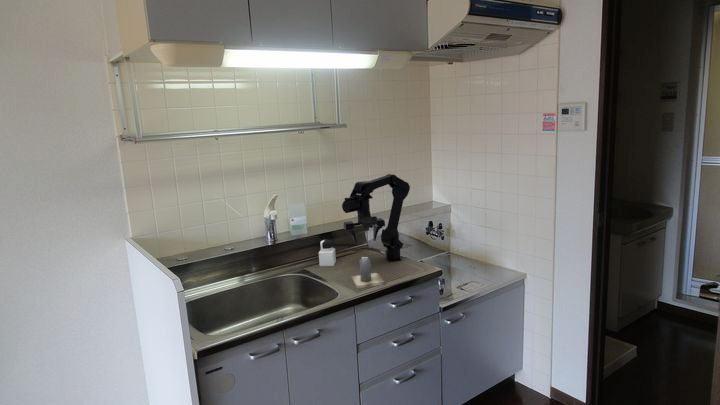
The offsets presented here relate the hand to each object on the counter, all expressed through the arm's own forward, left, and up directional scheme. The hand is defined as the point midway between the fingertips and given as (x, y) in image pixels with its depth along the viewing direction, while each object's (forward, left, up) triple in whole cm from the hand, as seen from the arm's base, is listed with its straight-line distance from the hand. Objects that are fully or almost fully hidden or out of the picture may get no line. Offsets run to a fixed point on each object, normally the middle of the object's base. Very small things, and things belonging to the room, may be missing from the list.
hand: (365, 241), depth 218 cm
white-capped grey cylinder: (+5, +18, -12) cm, 22 cm away
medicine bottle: (+16, -14, -13) cm, 25 cm away
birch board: (+4, +17, -13) cm, 22 cm away
